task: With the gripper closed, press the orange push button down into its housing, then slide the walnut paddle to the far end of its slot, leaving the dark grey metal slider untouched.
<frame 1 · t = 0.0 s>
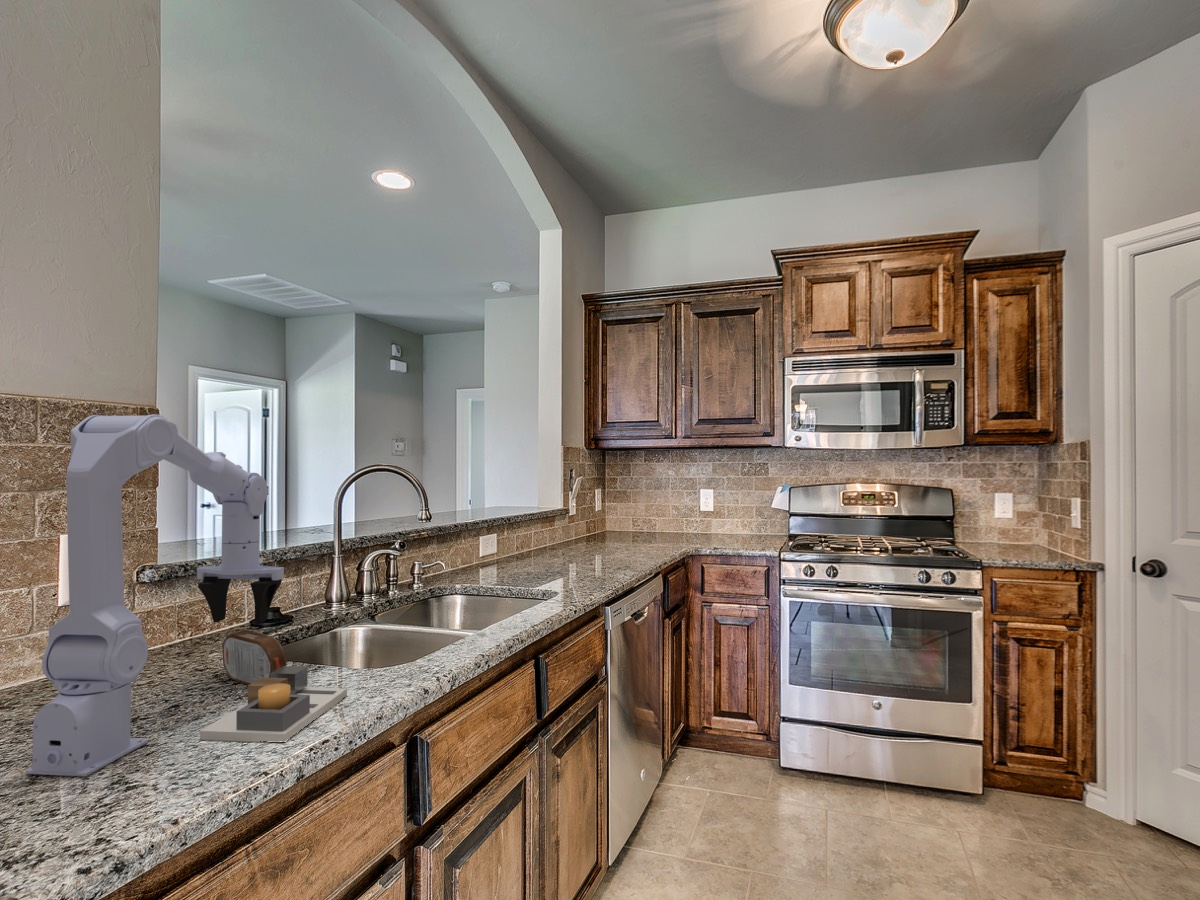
hand: (240, 621, 109), 10 cm above the worktop, tool pointing down, fingers open, 7 cm apart
walnut paddle: (267, 691, 94), point 3 cm above the worktop, slide at 0.0 cm
tin: (252, 684, 107), on the worktop
panel: (279, 716, 93), on the worktop
grey slider: (289, 679, 100), point 3 cm above the worktop, slide at 0.0 cm
orange button: (274, 697, 89), point 4 cm above the worktop, slide at 0.0 cm
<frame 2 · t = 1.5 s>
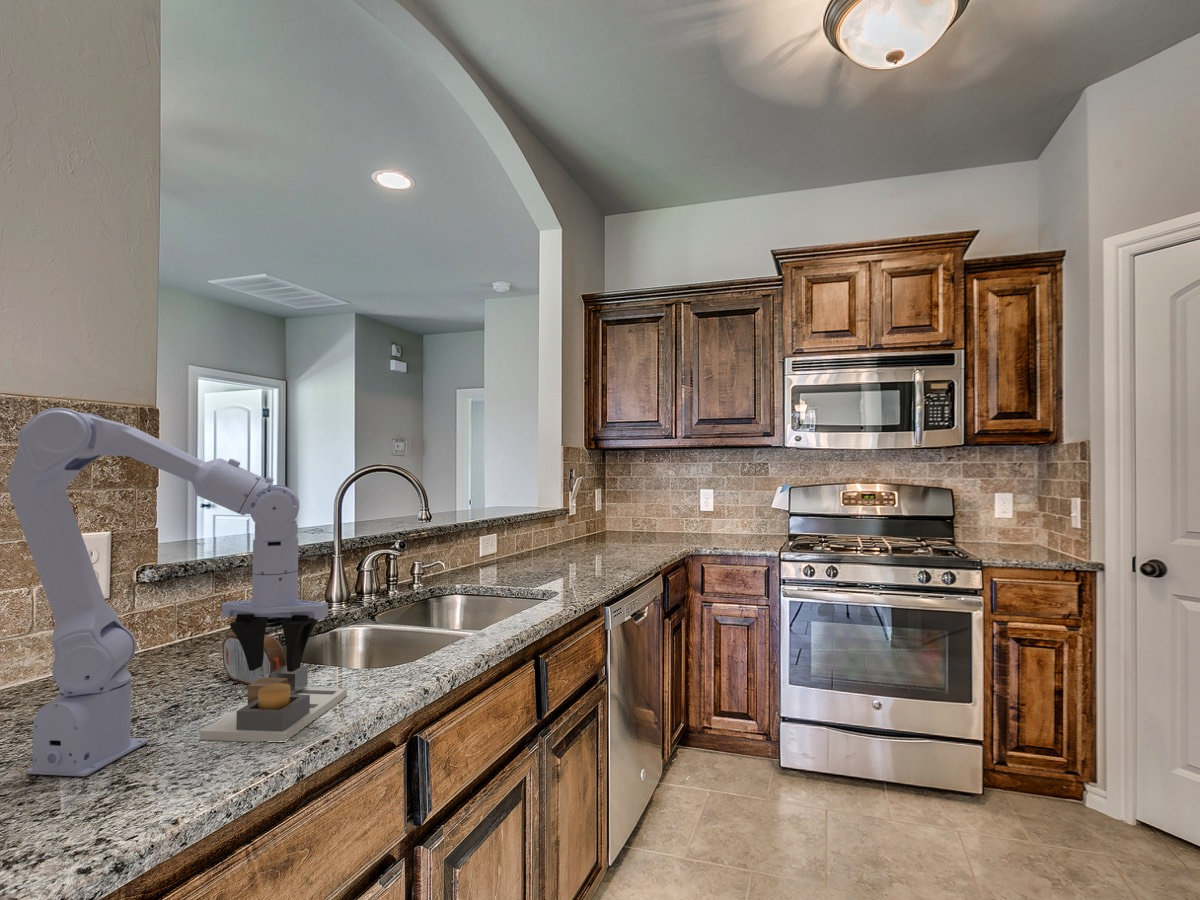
hand: (274, 669, 89), 8 cm above the worktop, tool pointing down, fingers open, 5 cm apart
nothing on the worktop moved.
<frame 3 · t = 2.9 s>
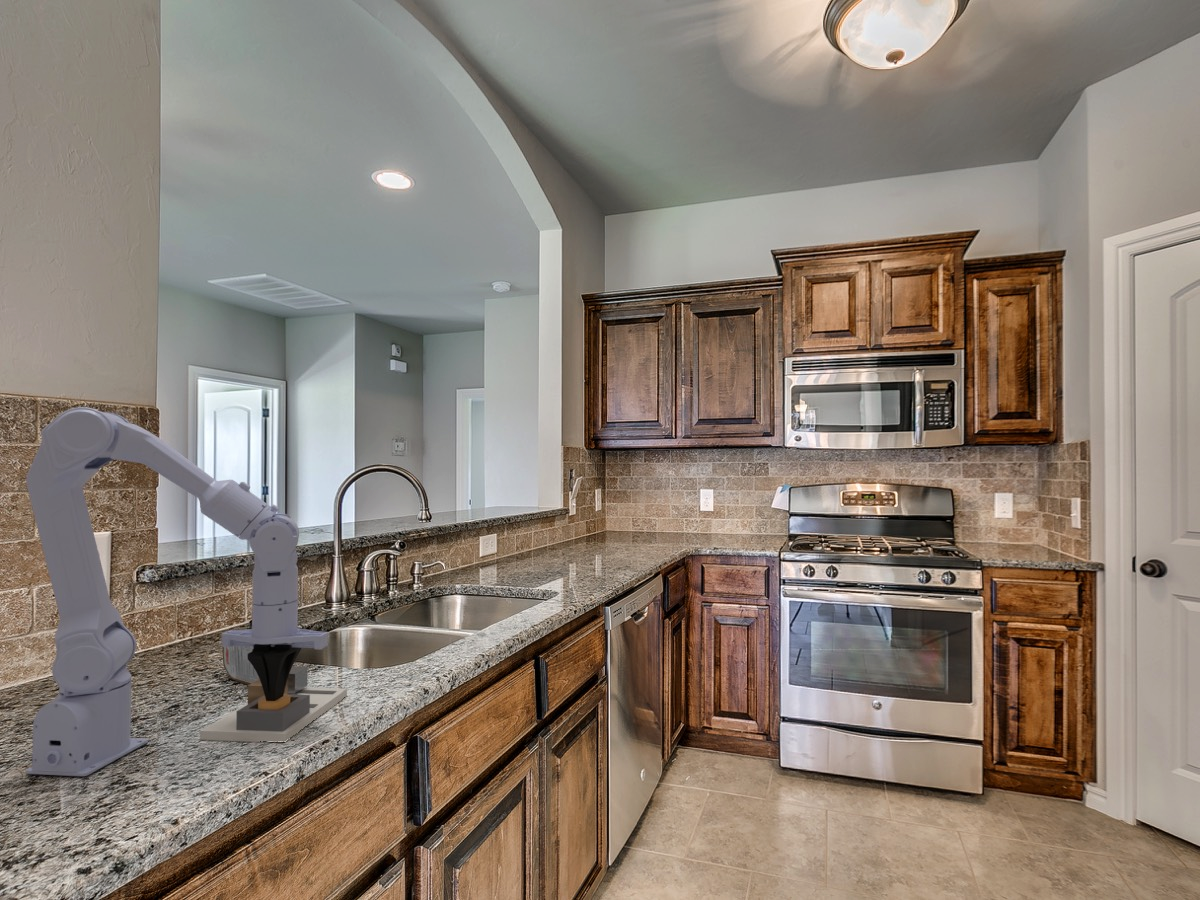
hand: (274, 698, 89), 4 cm above the worktop, tool pointing down, fingers closed, pressing on orange button
orange button: (274, 707, 88), point 3 cm above the worktop, slide at 1.4 cm, touching gripper
everything else where it was.
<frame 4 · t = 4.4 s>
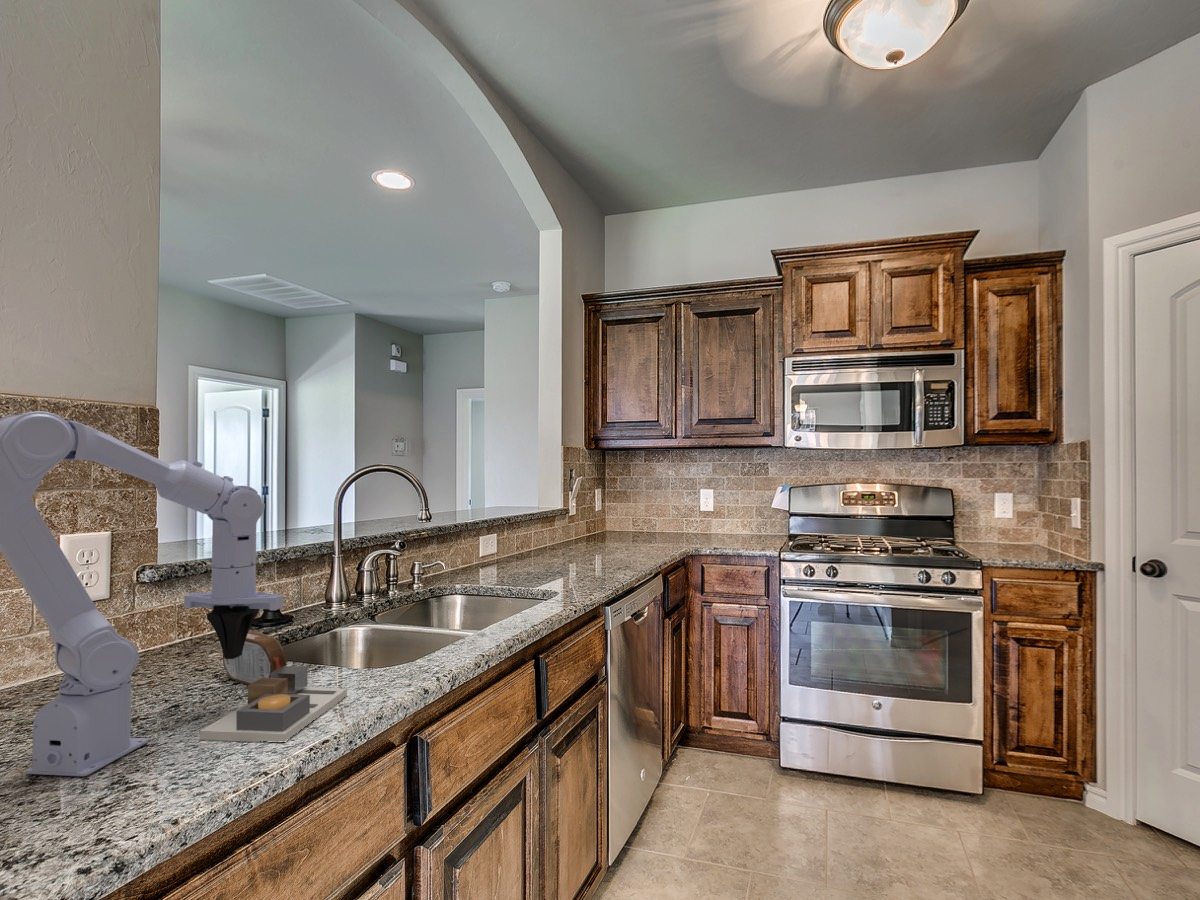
hand: (233, 657, 94), 8 cm above the worktop, tool pointing down, fingers closed
orange button: (274, 708, 88), point 3 cm above the worktop, slide at 1.6 cm
everything else where it was.
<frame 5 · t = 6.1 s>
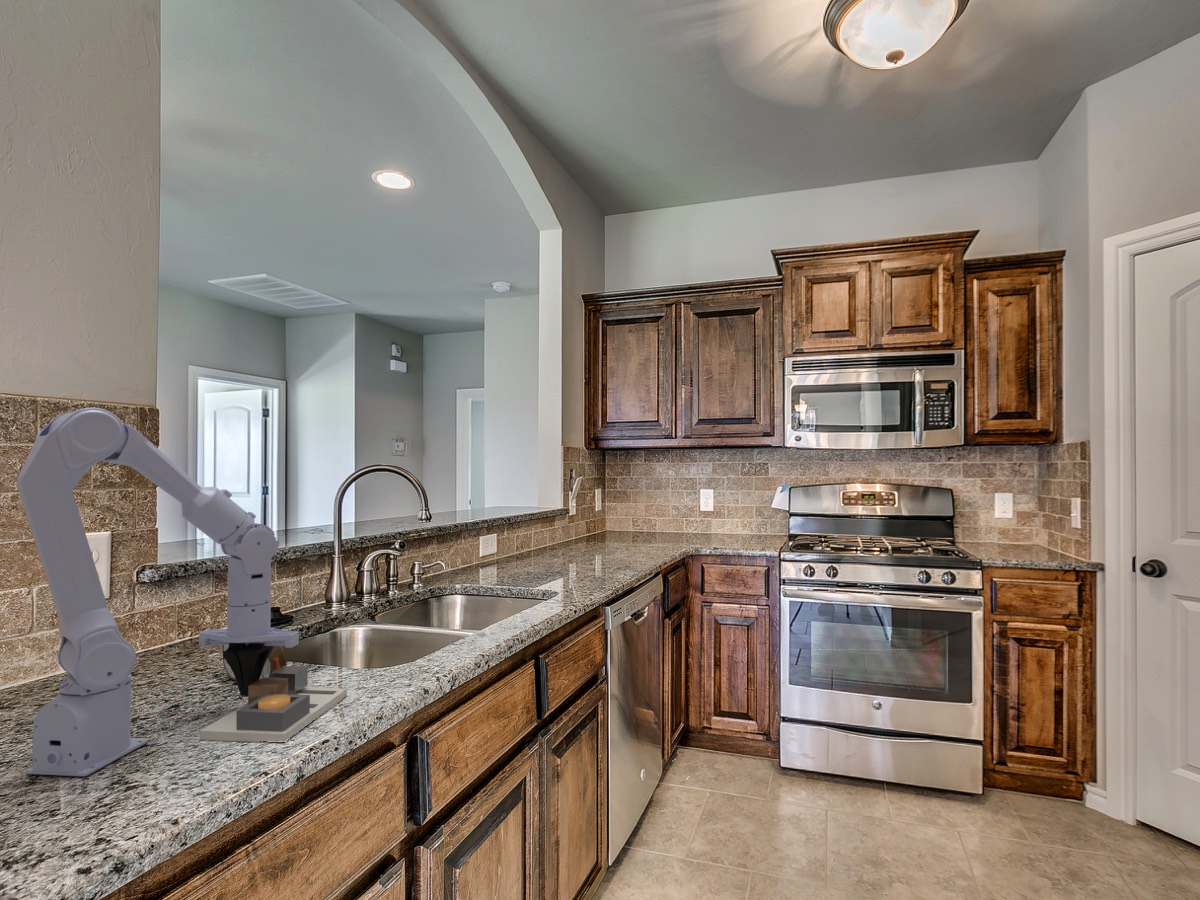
hand: (248, 693, 95), 3 cm above the worktop, tool pointing down, fingers closed
walnut paddle: (268, 691, 94), point 3 cm above the worktop, slide at 0.1 cm, touching gripper
everything else where it was.
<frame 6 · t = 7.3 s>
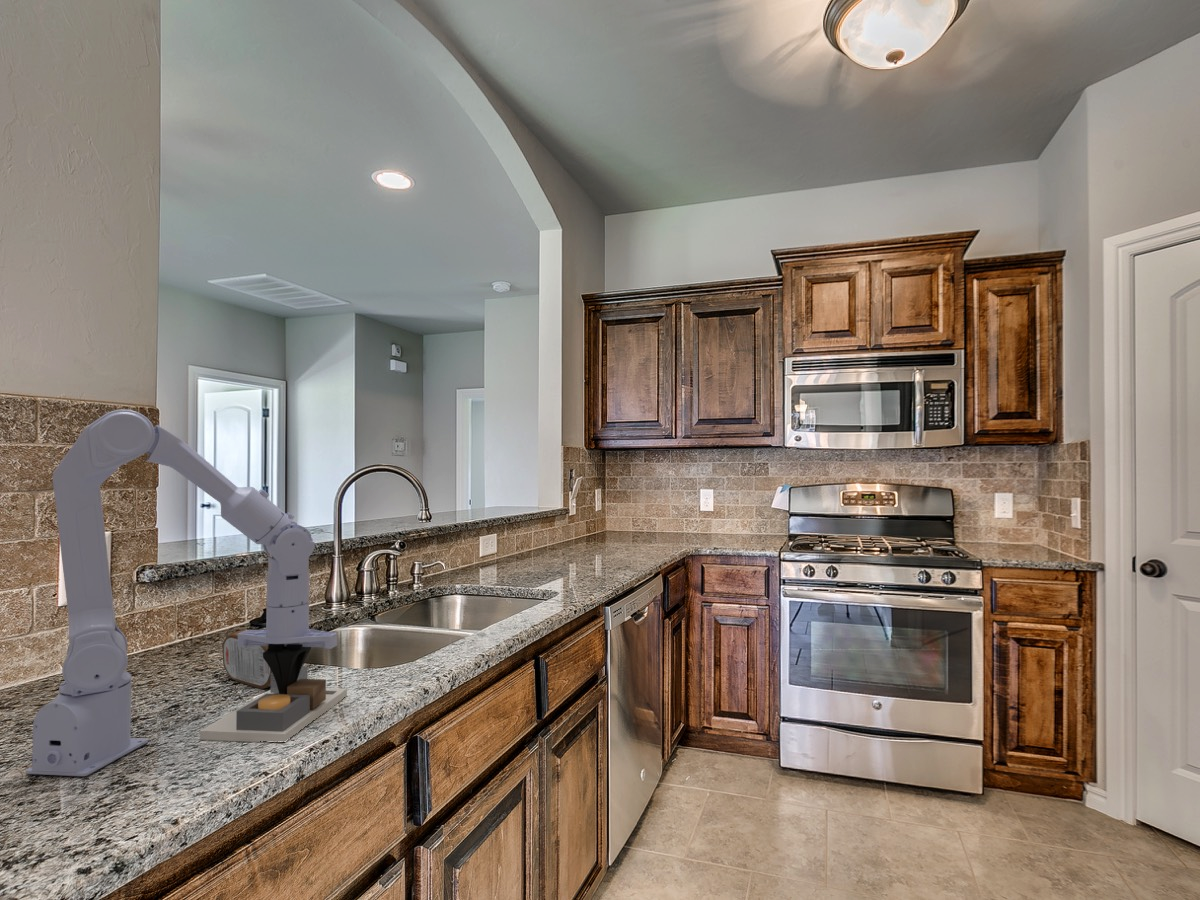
hand: (287, 695, 94), 3 cm above the worktop, tool pointing down, fingers closed
walnut paddle: (306, 693, 94), point 3 cm above the worktop, slide at 6.1 cm, touching gripper
everything else where it was.
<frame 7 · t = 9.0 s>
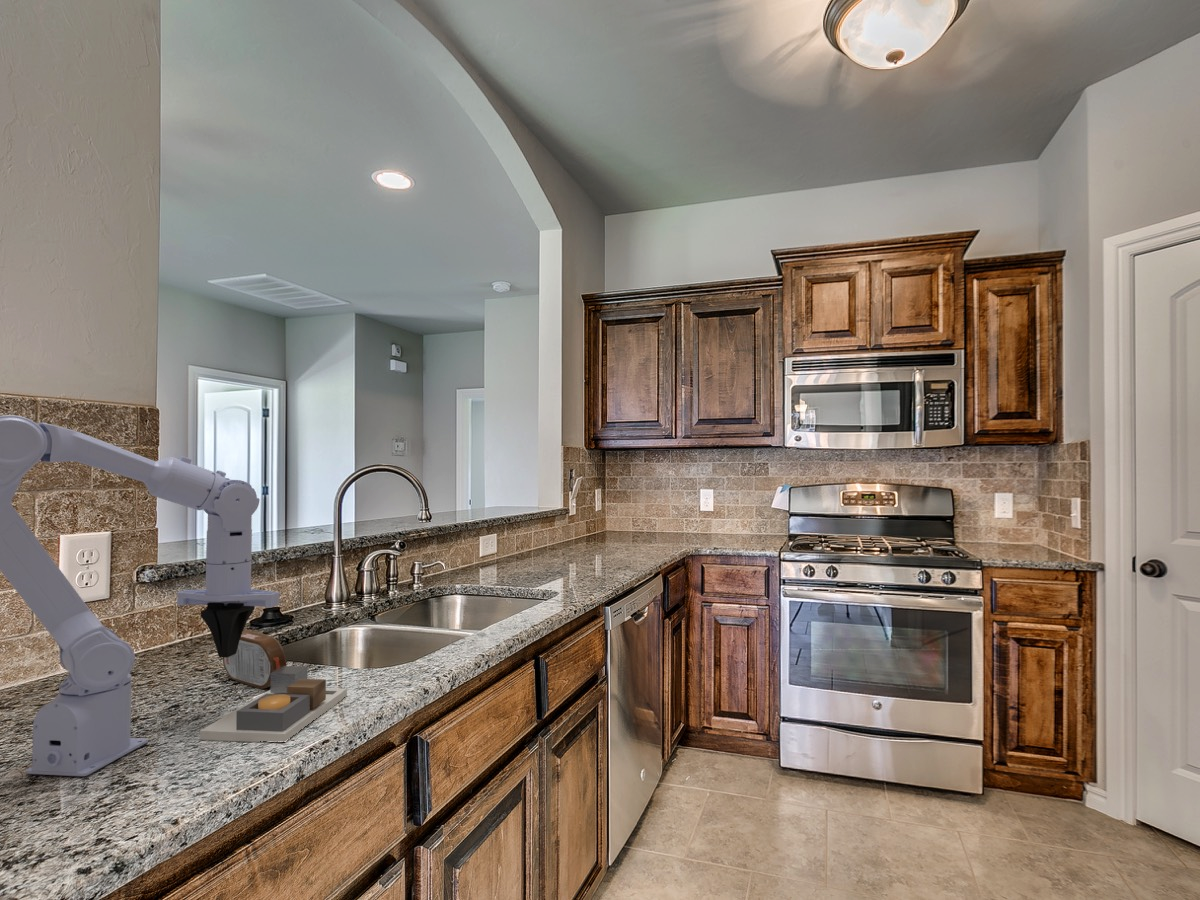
hand: (227, 655, 92), 9 cm above the worktop, tool pointing down, fingers closed
walnut paddle: (306, 693, 94), point 3 cm above the worktop, slide at 6.1 cm
everything else where it was.
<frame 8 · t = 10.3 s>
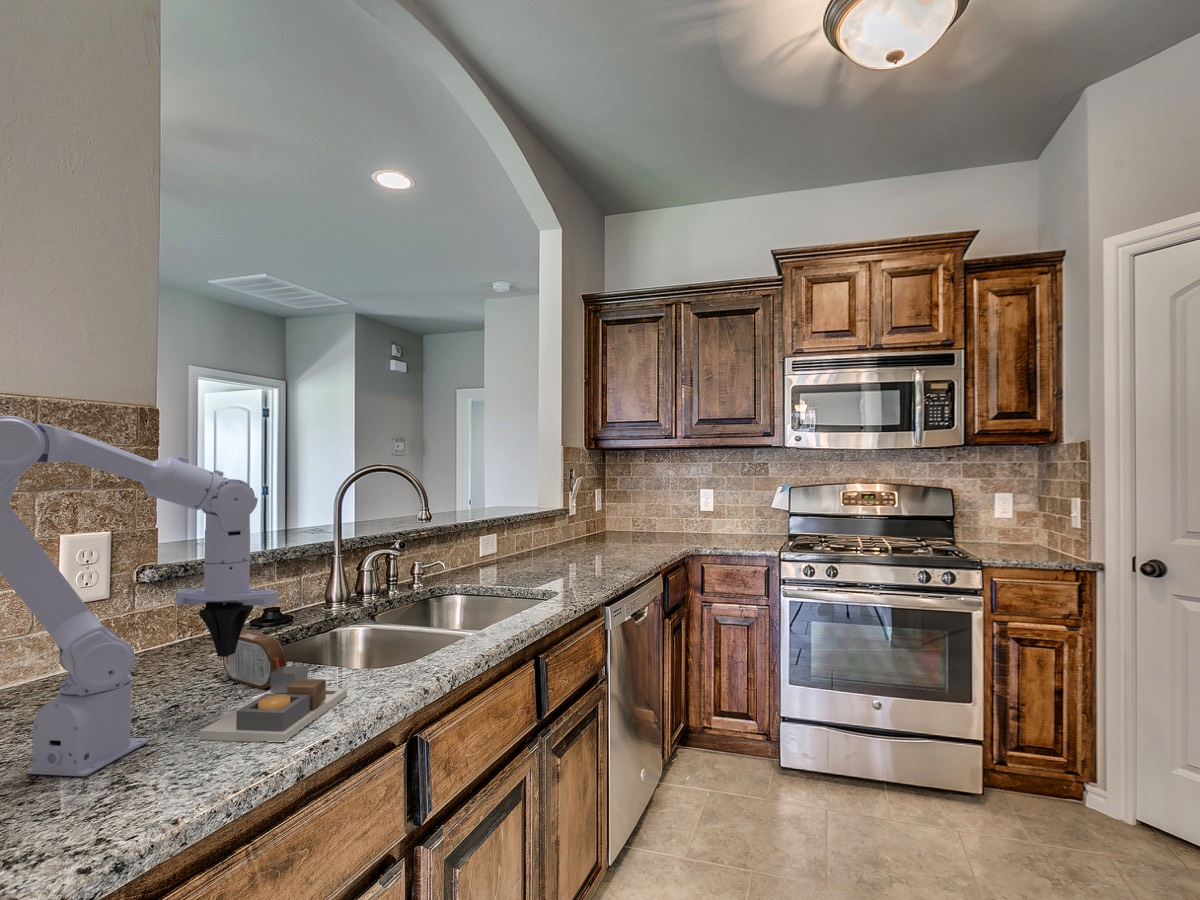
hand: (226, 654, 92), 9 cm above the worktop, tool pointing down, fingers closed
nothing on the worktop moved.
at the end: orange button slide at 1.6 cm; walnut paddle slide at 6.1 cm; grey slider slide at 0.0 cm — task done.
